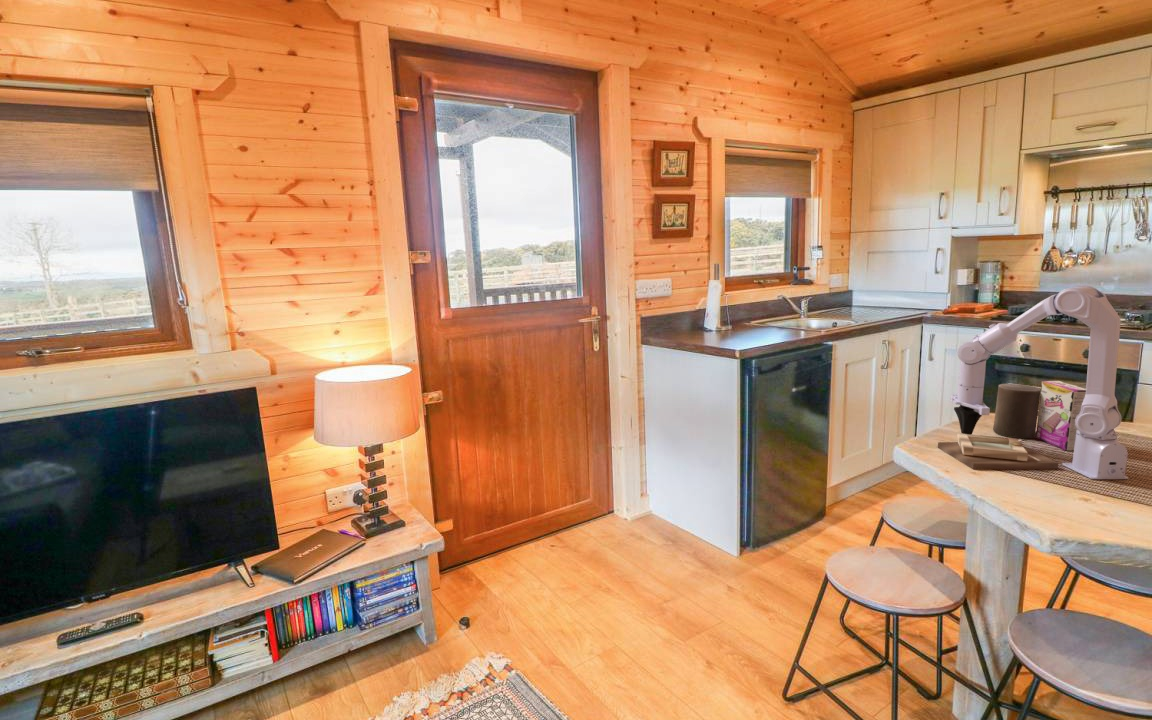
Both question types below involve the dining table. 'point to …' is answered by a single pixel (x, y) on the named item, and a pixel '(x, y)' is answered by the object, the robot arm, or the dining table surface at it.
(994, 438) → the cabinet door with knob
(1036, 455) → the walnut board
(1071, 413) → the candy bar box
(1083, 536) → the dining table surface
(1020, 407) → the pillar candle
